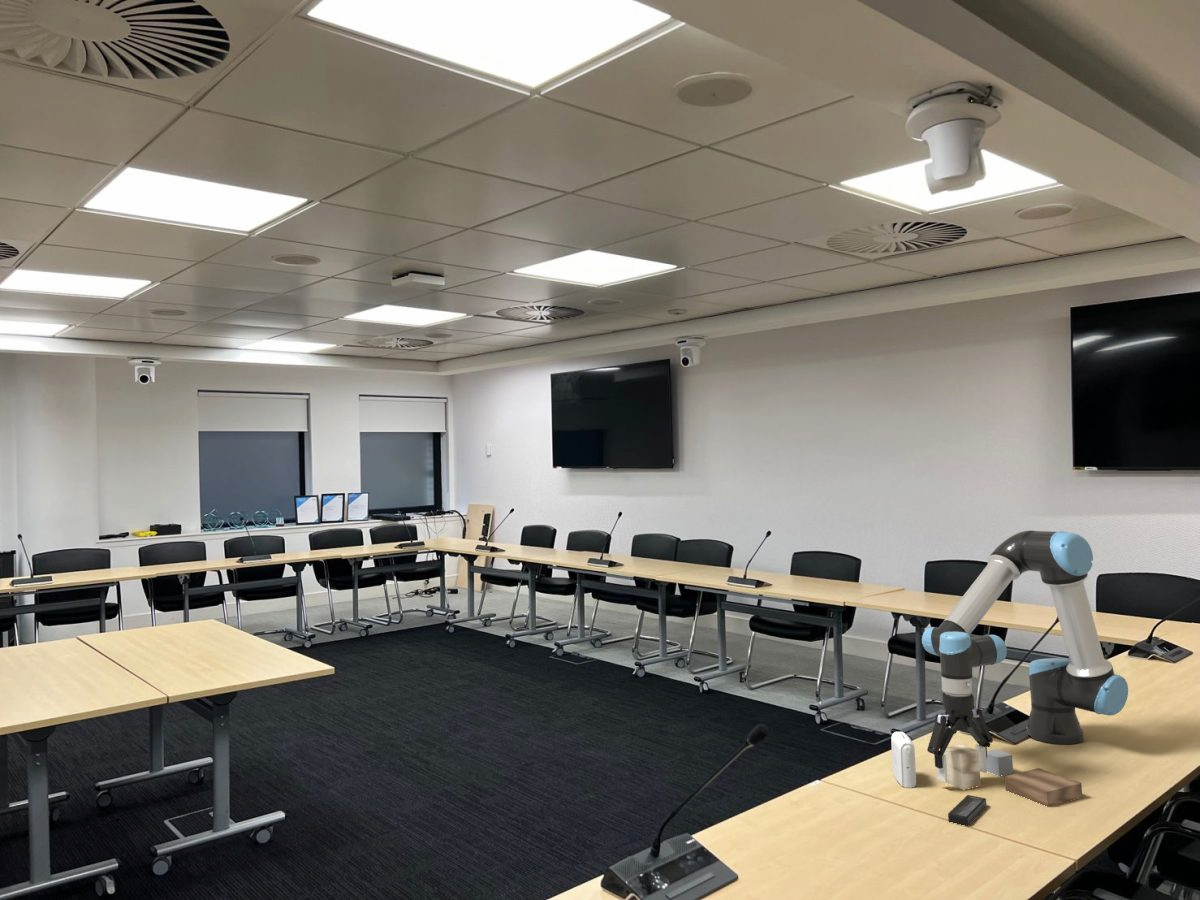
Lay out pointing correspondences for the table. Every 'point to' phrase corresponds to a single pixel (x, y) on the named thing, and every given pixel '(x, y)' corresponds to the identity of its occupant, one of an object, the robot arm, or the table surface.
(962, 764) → the ash block
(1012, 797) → the table surface
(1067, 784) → the walnut base block
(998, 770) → the slate grey block
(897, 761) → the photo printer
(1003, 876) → the table surface
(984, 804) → the multiport hub
